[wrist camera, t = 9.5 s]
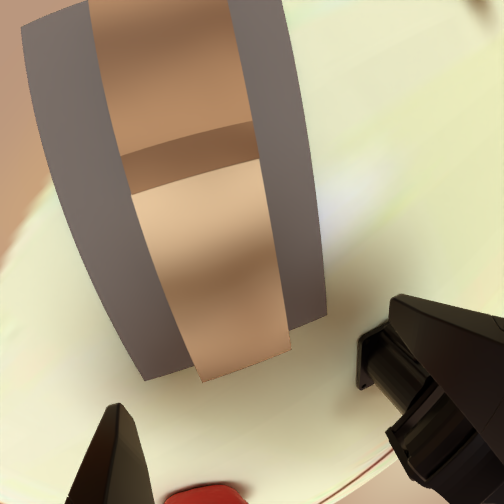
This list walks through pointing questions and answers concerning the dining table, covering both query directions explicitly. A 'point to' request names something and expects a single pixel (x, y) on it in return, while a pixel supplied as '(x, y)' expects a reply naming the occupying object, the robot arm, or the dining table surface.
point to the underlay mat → (118, 191)
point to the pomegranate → (207, 496)
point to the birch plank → (218, 266)
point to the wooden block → (172, 87)
